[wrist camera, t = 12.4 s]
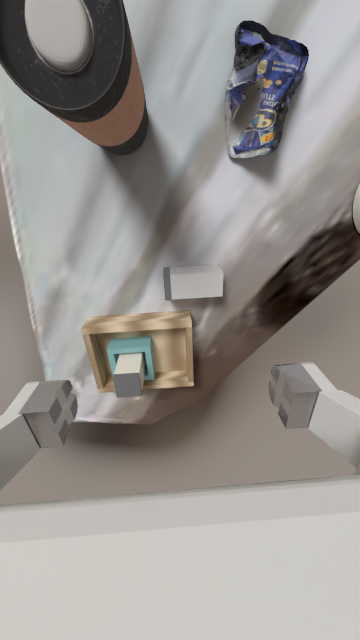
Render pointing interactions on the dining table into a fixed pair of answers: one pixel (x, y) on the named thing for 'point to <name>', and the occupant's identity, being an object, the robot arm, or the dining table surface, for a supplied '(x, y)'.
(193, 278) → the grey plug
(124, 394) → the ivory connector
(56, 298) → the dining table surface
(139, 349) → the teal socket
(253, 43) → the snack package
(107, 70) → the travel mug
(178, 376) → the birch crate
